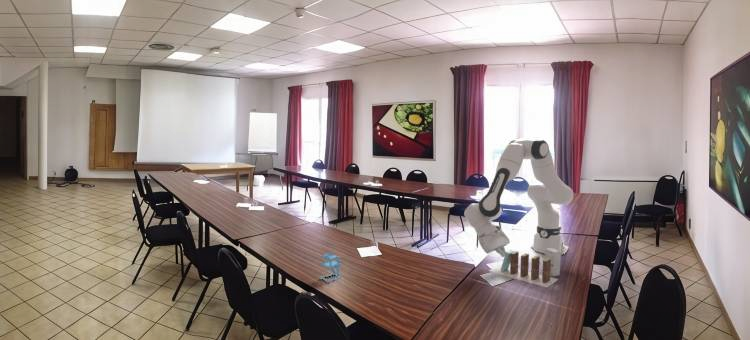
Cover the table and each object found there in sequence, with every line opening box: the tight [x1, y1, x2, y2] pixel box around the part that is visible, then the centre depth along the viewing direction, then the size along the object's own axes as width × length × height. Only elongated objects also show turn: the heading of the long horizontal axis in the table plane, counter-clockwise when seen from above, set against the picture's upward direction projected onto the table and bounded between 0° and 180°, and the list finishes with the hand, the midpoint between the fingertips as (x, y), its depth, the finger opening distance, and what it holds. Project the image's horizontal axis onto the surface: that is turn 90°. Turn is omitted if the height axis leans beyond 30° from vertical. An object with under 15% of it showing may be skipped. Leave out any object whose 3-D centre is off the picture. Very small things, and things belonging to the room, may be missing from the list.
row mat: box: [488, 264, 559, 288], centre depth 174 cm, size 13×28×1 cm, turn 44°
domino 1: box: [501, 249, 514, 272], centre depth 179 cm, size 2×5×10 cm, turn 135°
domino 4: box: [530, 255, 541, 280], centre depth 170 cm, size 2×5×10 cm, turn 134°
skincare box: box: [544, 248, 562, 277], centre depth 176 cm, size 6×4×12 cm
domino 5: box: [541, 258, 551, 283], centre depth 166 cm, size 2×5×10 cm, turn 134°
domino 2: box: [509, 250, 520, 275], centre depth 177 cm, size 2×5×10 cm, turn 134°
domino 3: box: [520, 253, 530, 277], centre depth 173 cm, size 2×5×10 cm, turn 134°
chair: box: [319, 252, 342, 283], centre depth 173 cm, size 8×8×12 cm
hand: (505, 255), depth 180 cm, fingers closed
